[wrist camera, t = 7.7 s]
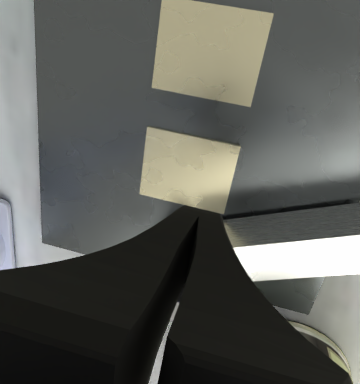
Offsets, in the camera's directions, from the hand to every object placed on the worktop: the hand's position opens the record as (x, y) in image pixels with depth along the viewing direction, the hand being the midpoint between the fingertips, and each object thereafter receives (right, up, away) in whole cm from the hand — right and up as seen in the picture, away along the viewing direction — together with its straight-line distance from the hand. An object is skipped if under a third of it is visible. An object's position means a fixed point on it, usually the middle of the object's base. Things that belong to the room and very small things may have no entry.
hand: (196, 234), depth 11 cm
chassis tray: (0, +5, +7) cm, 9 cm away
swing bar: (+5, 0, +7) cm, 9 cm away
